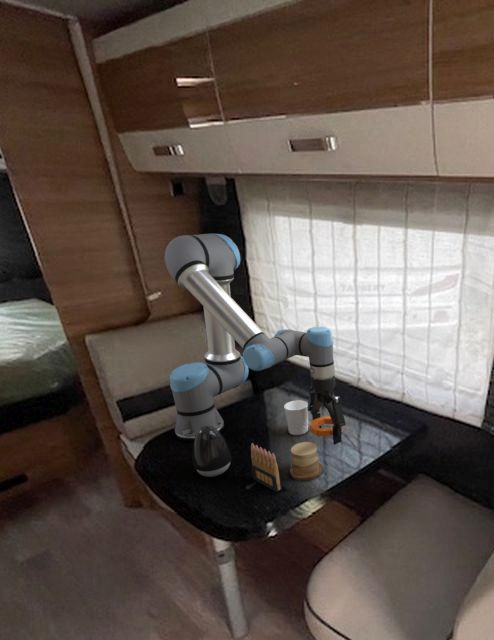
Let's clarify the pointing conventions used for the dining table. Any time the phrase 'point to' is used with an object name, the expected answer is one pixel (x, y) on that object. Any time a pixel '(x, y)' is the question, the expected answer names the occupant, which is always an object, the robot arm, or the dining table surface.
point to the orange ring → (322, 431)
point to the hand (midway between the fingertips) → (327, 436)
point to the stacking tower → (305, 461)
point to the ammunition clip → (265, 468)
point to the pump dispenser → (210, 452)
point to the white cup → (297, 417)
